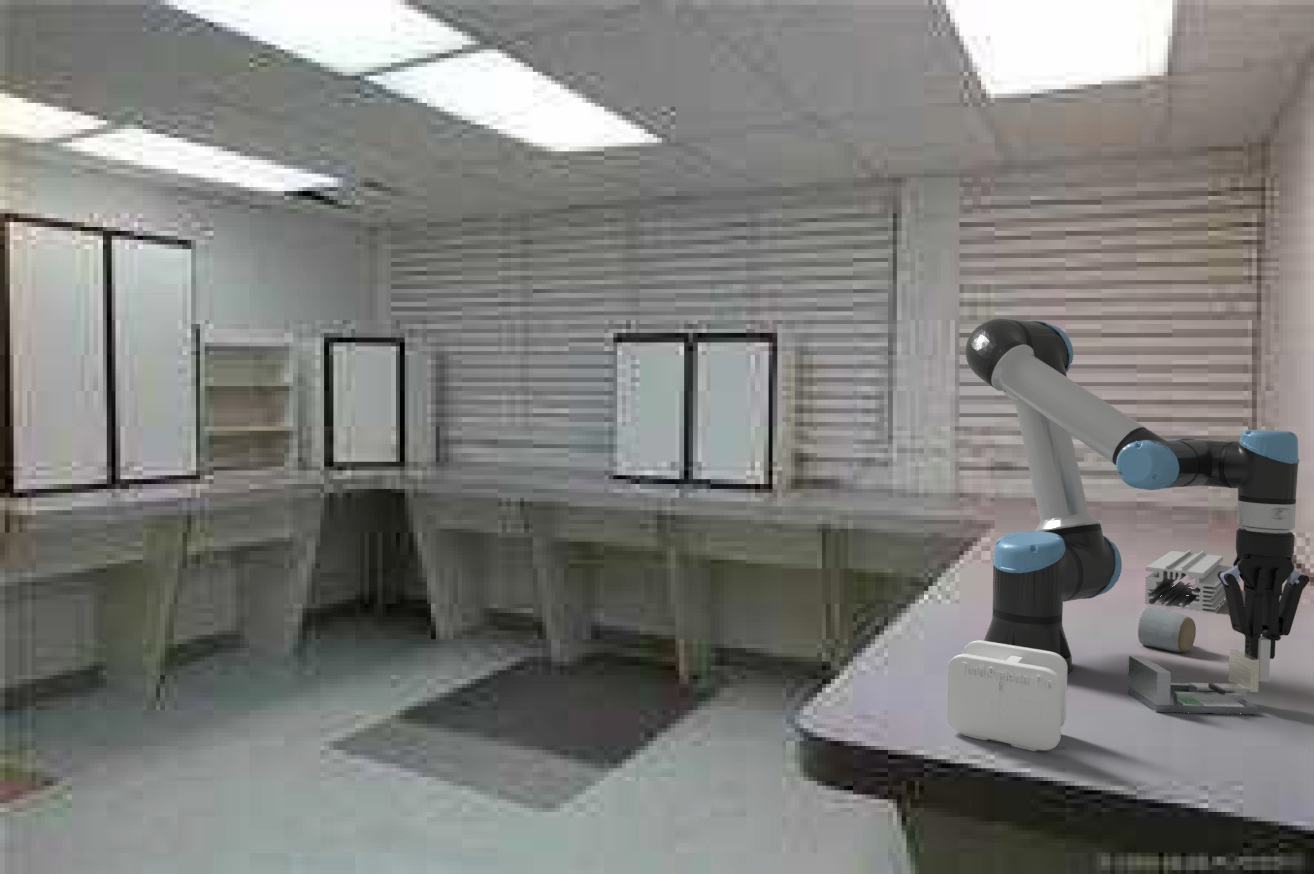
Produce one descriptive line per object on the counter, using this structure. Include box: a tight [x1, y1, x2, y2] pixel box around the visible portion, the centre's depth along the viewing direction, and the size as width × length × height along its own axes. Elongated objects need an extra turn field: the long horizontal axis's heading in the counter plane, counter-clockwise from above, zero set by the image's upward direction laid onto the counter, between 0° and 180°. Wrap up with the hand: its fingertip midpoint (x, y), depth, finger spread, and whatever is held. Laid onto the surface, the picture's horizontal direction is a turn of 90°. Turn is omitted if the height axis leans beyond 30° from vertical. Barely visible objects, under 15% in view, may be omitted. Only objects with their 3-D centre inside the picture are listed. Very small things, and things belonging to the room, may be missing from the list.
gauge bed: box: [1127, 655, 1259, 715], centre depth 140 cm, size 15×9×6 cm, turn 87°
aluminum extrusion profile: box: [1144, 549, 1233, 614], centre depth 218 cm, size 14×31×10 cm, turn 140°
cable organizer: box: [945, 639, 1068, 752], centre depth 126 cm, size 15×11×12 cm
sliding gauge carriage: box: [1188, 649, 1260, 699], centre depth 139 cm, size 8×7×6 cm
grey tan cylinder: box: [1137, 605, 1197, 654], centre depth 173 cm, size 11×8×8 cm
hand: (1258, 678), depth 140 cm, fingers closed
